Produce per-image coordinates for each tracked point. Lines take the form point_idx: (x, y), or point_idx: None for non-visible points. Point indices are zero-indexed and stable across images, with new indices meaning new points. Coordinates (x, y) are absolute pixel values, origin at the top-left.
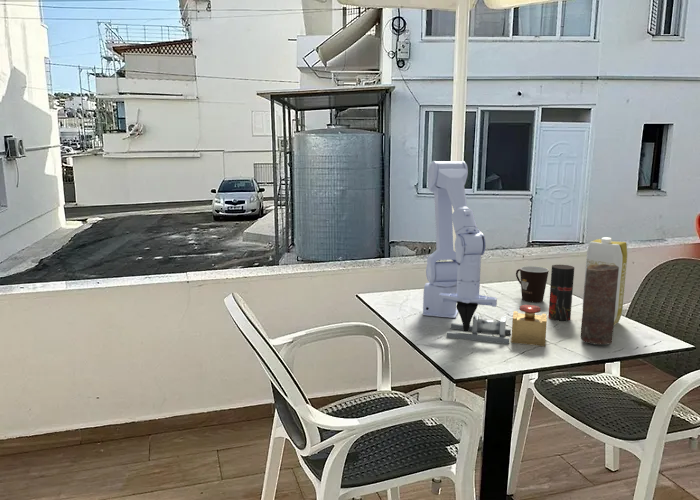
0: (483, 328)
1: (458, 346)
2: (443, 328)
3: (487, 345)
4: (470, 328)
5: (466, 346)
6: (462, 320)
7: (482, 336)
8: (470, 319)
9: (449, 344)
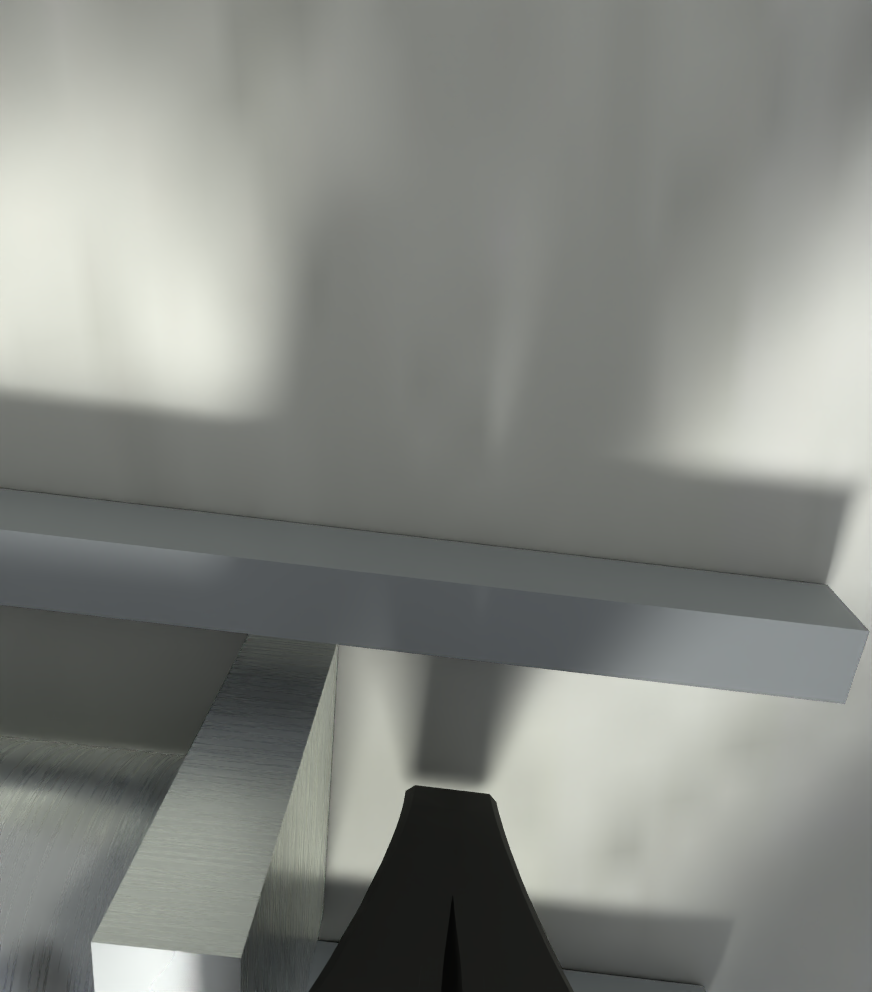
0: (56, 783)
1: (613, 63)
2: (824, 979)
3: (8, 275)
4: None
5: (433, 107)
6: (549, 973)
7: (99, 544)
8: (325, 989)
9: (812, 160)
